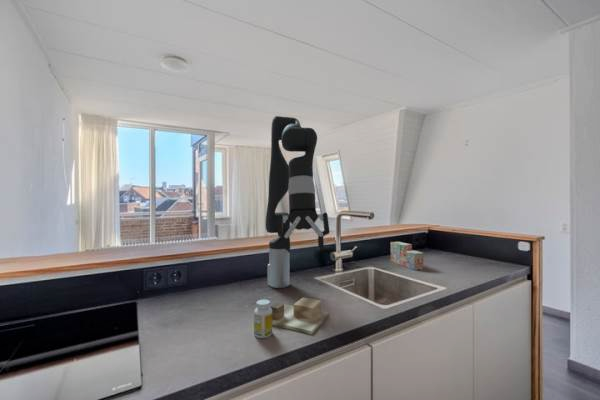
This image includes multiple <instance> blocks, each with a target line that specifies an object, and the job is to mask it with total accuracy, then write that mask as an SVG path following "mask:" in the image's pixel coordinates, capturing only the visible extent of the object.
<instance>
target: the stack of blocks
mask: <svg viewBox="0 0 600 400" xmlns="http://www.w3.org/2000/svg"><path fill="white" fill-rule="evenodd" d="M391 261H393V262H395V263H394V264H396V263H398V264H400V265H399V266H402V265H403V266H402V267H404V266H405V268H407V267H408V268H407V269H411V270H413V271H418V269H420V270H424V252H421V251H419V250H415V249H413V244H411V243H406V242H401V241H390V262H391ZM393 262H392V263H393ZM398 264H397V265H398Z"/></svg>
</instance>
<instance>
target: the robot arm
mask: <svg viewBox="0 0 600 400" xmlns="http://www.w3.org/2000/svg"><path fill="white" fill-rule="evenodd" d="M270 133H271V137H270V138H271V139H270V142H271V147H270V149H271V150H270V164H269V166H270V167H269V176H268V198H267V207H266V213H265V214H266V216H265V230H266V232H267V233H269V234H276V233H277V237H276V238H274V239H272V240H270V241H269V243H268V257H269V258H268V261H269V263H268V264H267V268H266V269H267V272H266V274H267V286H270V287H271V288H275V289H280V288H281V289H282V288H283V289H284V288H287V287H289V286H290V253H291V238H290V237H291V235H292V234H293V232H294V230H298V231H302V230H310V229H312V231H314V233H315V234H316V235H317V236H318V237H317V247H318V249H317V250H318V251H319V252H321V251H322V249H324V246H325V245H324V237H325V236H327V235H329V234H330V226H329V225H330V223H329V215H328V213H327V212H323V213H319V214H318V213H317V206H316V189H315V182H314V167H313V165H314V164H313V162H314V155H315V151H316V147H317V142H318V135H317V134H318V133H317V132H316V131H315V129H313V128H311V127H302V126H301V123H300V121H299V120H298V119H297V118H296V117H291V116H289V117H288V116H280V115H275V116H274V117H273V118H272V122H271V132H270ZM280 141H281V146H282V148H283V149H284V150H285V151H287V152H293V153H295V152H298V153H299V152H304V154H303V155H301V156H296V157H293V158H291V159H290V160H289V161H288V162H287V160H286V159H285V157H284V155H283V153H282V149H281V147H280ZM287 193H288V207H289V209H288V211H289V213H288V212H285V211H284V212H281V211H280V212H276V209H277V208H278V205H279V203H280V202H281V200H282V199H283V198H284V197H285V195H286V194H287ZM318 219H319V220H320V221H321V222H322V223H323V231H321V230H320V228H319V227H318V226H317V224H316V222H317V220H318Z"/></svg>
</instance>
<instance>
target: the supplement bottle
mask: <svg viewBox="0 0 600 400" xmlns="http://www.w3.org/2000/svg"><path fill="white" fill-rule="evenodd" d="M270 304H271V301H270V299H269V300H268V299H259V300H257V301H256V304H255V305H256V308H255V309H254V311H253V334H254V336H255V337H256V338H258V339H265V338H266V339H267V338H269V337H270V336H271V335H272V334H273V325H272V309H271V308H270Z"/></svg>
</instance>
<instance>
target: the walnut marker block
mask: <svg viewBox="0 0 600 400" xmlns="http://www.w3.org/2000/svg"><path fill="white" fill-rule="evenodd" d="M284 304H285V303H281V302H276V301H273V302H270V308H271V309H272V319H273V320H277V321H278V320H280V319H281V318H282V317H283V316H284Z"/></svg>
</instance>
